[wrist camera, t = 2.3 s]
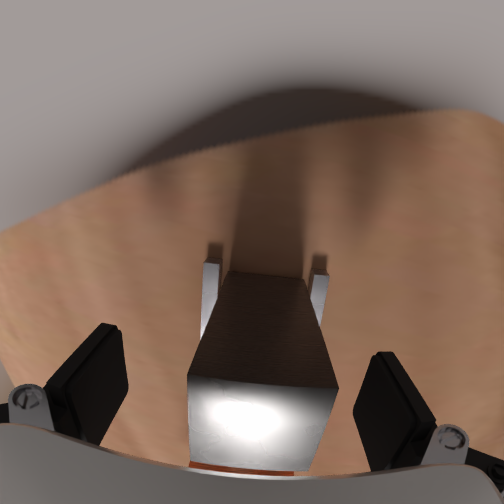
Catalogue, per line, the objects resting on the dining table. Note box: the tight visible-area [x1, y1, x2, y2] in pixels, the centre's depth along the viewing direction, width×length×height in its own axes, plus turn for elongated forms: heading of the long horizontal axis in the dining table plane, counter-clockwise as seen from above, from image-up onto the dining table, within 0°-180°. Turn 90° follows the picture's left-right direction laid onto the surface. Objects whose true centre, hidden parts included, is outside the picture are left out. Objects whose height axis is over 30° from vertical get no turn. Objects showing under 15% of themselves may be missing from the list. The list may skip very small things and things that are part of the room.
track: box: [200, 258, 330, 340], centre depth 17 cm, size 6×13×1 cm, turn 174°
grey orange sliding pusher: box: [187, 271, 339, 476], centre depth 13 cm, size 7×14×9 cm, turn 174°
